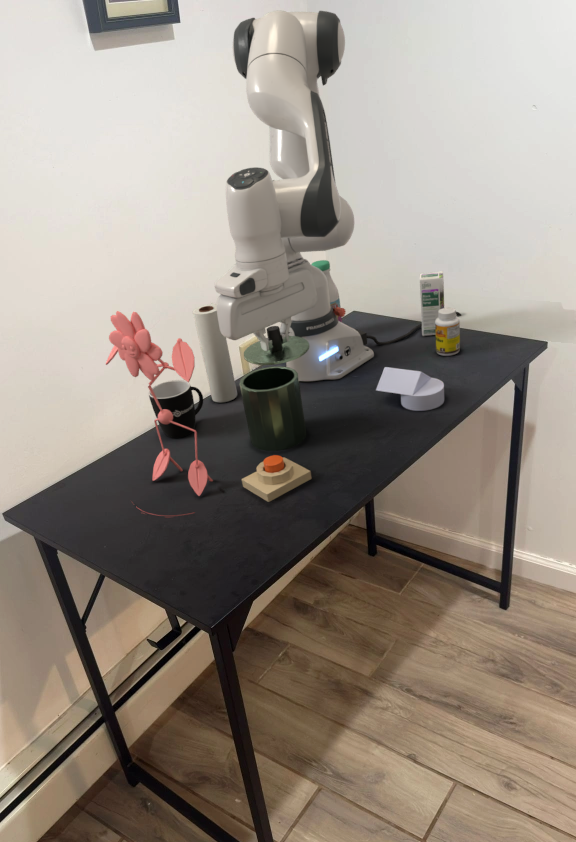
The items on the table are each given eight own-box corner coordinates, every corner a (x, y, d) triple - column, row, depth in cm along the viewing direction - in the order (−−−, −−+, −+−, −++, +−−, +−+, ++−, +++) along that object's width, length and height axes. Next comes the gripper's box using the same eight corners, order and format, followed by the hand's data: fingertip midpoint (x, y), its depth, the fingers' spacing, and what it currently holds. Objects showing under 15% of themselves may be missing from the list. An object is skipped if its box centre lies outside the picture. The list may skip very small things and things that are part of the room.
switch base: (285, 467, 138) (282, 448, 136) (312, 481, 132) (309, 462, 130) (243, 489, 133) (239, 470, 131) (269, 504, 128) (265, 485, 125)
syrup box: (421, 336, 182) (419, 279, 174) (422, 328, 186) (419, 272, 178) (445, 335, 180) (443, 277, 172) (444, 326, 185) (443, 269, 177)
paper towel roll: (224, 405, 165) (205, 314, 153) (206, 400, 169) (186, 311, 157) (246, 392, 169) (229, 303, 157) (228, 388, 173) (210, 300, 161)
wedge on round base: (376, 404, 154) (432, 413, 147) (374, 375, 150) (431, 383, 143) (396, 387, 160) (451, 394, 153) (394, 358, 156) (450, 365, 149)
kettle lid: (282, 336, 142) (278, 311, 139) (323, 349, 133) (320, 323, 131) (231, 358, 137) (226, 332, 134) (270, 374, 128) (266, 347, 125)
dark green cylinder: (283, 420, 154) (274, 361, 147) (318, 436, 146) (309, 375, 139) (240, 441, 149) (228, 381, 142) (273, 459, 141) (262, 396, 133)
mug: (175, 445, 152) (164, 402, 146) (152, 434, 158) (140, 392, 152) (219, 422, 158) (210, 379, 152) (195, 412, 164) (185, 371, 158)
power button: (276, 461, 133) (275, 453, 132) (288, 467, 130) (287, 459, 129) (261, 469, 131) (259, 461, 130) (272, 475, 129) (271, 467, 128)
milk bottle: (309, 339, 192) (299, 263, 180) (335, 331, 193) (327, 255, 182) (322, 347, 185) (312, 269, 174) (348, 339, 187) (341, 261, 176)
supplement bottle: (432, 350, 174) (431, 309, 168) (454, 345, 174) (454, 304, 168) (440, 358, 169) (439, 316, 163) (463, 353, 169) (463, 311, 164)
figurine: (158, 458, 148) (110, 290, 129) (246, 491, 132) (207, 305, 113) (98, 494, 139) (37, 319, 120) (185, 534, 124) (131, 341, 104)
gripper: (297, 252, 133) (307, 323, 141) (206, 286, 124) (222, 361, 132) (319, 256, 129) (328, 330, 137) (226, 292, 120) (241, 369, 127)
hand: (275, 345), depth 134 cm, fingers closed on kettle lid, 2 cm apart
